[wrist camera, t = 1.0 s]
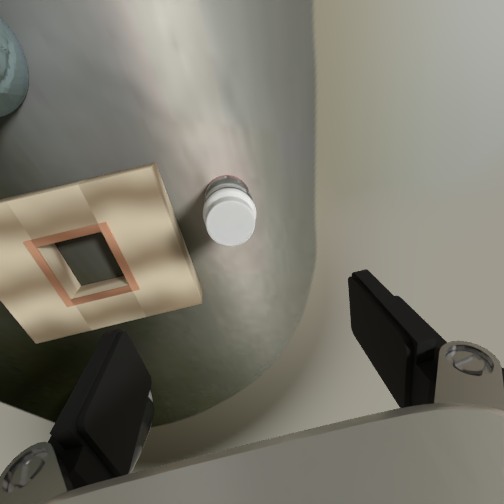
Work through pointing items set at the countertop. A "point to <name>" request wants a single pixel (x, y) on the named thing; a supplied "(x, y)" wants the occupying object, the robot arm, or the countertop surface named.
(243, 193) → the pill bottle
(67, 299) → the socket plate
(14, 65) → the blue green cup
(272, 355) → the countertop surface
